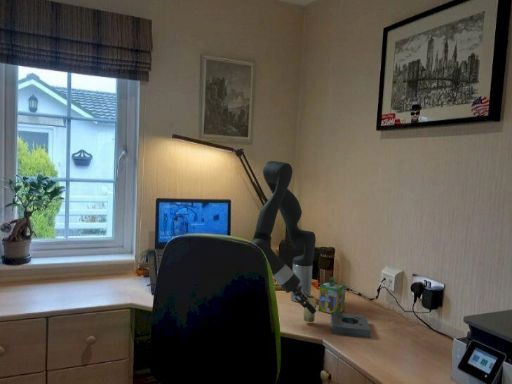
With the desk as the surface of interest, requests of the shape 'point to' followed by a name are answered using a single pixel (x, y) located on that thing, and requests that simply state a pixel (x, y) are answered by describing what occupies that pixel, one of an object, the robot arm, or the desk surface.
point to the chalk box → (332, 297)
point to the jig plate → (350, 325)
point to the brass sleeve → (307, 313)
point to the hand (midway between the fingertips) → (314, 310)
